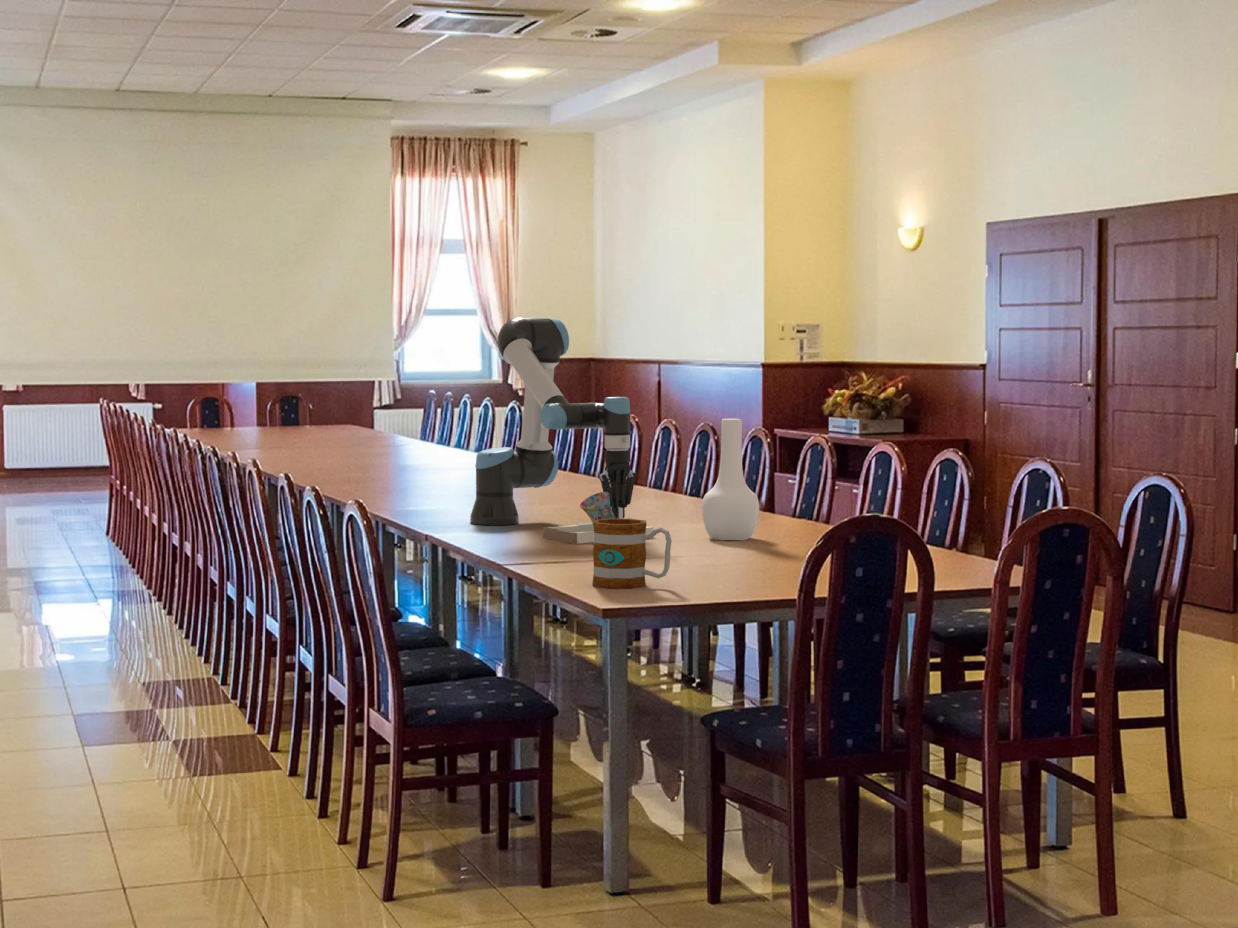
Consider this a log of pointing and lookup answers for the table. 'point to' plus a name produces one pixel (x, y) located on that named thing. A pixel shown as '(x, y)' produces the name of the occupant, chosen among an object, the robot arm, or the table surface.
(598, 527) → the mug
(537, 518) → the table surface
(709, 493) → the vase
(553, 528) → the teal-striped rail frame
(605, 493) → the mug
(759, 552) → the table surface
